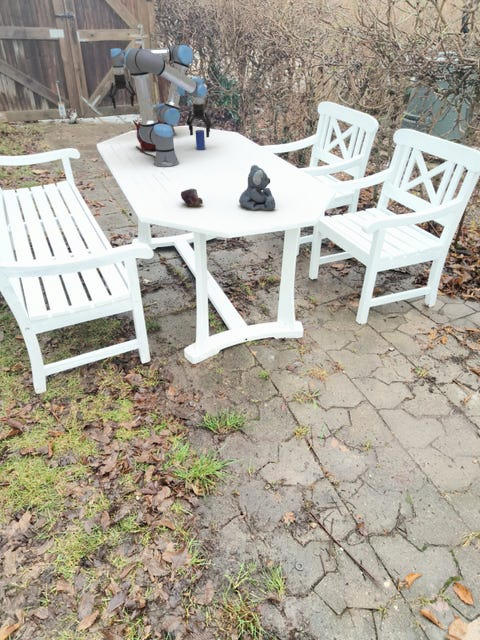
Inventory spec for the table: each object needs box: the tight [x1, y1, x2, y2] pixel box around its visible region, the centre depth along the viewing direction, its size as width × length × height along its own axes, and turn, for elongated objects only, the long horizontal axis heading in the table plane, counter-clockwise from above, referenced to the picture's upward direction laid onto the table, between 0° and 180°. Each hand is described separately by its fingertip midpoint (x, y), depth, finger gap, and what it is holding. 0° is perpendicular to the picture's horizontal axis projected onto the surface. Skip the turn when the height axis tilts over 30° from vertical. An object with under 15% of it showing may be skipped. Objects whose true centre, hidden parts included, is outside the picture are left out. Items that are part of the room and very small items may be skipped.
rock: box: [180, 188, 204, 207], centre depth 229 cm, size 12×9×10 cm
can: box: [195, 129, 206, 151], centre depth 322 cm, size 6×6×12 cm
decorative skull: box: [132, 118, 164, 153], centre depth 323 cm, size 21×24×25 cm
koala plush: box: [238, 164, 276, 211], centre depth 224 cm, size 17×18×20 cm
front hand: (199, 136), depth 320 cm, fingers open, 13 cm apart
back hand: (123, 107), depth 328 cm, fingers open, 13 cm apart
